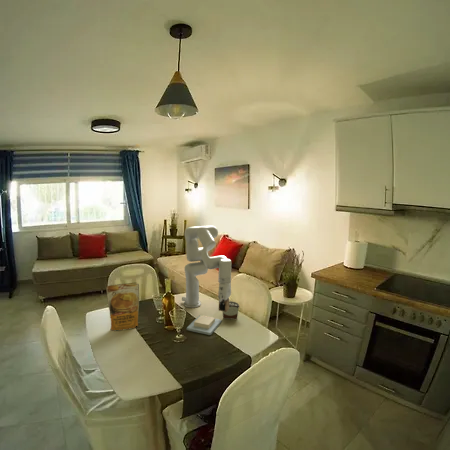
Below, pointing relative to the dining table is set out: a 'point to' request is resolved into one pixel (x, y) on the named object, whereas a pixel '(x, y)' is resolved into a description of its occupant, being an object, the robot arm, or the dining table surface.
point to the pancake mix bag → (123, 305)
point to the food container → (231, 311)
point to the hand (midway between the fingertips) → (224, 307)
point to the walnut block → (225, 305)
